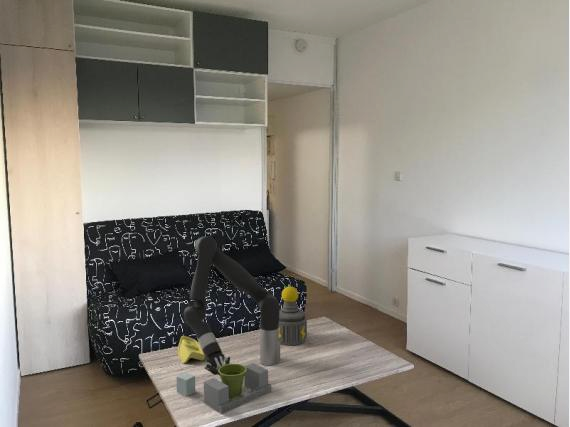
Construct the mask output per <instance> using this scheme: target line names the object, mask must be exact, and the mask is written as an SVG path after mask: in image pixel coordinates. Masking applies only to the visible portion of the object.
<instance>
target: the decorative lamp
mask: <svg viewBox="0 0 570 427" xmlns="http://www.w3.org/2000/svg"><path fill="white" fill-rule="evenodd" d="M281 298H282V300H283V301H284V302H283V305H282V308H280V316H279V342H280V345H282V344H283V345H284V346H297V345H296V344H298V345H301V344H303V343H305V342H306V340H307V336H308V330H307V329H308V321H307V318H306V316H305V311H303V310H301V309H299V308H298V304H297V300H298V298H299V292H298V290H297V288H296V287H294V286H285V288H284V289H283V290H282V292H281ZM300 343H301V344H300ZM283 345H282V346H283Z"/></svg>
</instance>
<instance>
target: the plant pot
mask: <svg viewBox="0 0 570 427" xmlns="http://www.w3.org/2000/svg"><path fill="white" fill-rule="evenodd" d="M245 366H246V365H243V364H239V363H229V364H227V365H225V364H224V365H223V366H221V367H220V368H219V369H218V372H219V373H220V376H219V377H221V378H220V380H221V381H220V382H222V383H224V384H226V385H228V386H229V400H230V399H232V398H234V397H237V396H239V395H241V394H242V391H243V385H244V384H243V383H244V376H245V372H246V370H247V368H246V367H245Z"/></svg>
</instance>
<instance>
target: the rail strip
mask: <svg viewBox="0 0 570 427" xmlns="http://www.w3.org/2000/svg"><path fill="white" fill-rule="evenodd" d="M271 392H272V384H270V383H268V384H266V385H263V386H261V387H257V388H255V389H253V390H251V389H249V390H248V391H246V392H244V393H241V395H239V396H237V397H234V398H232V399H229V401H226V402H224V403H222V404H219V405H218V406H219V412H218V413H219V414H221V415H223V414H225V413H227V412H230V411H232V410H234V409H236V408H239V407H241V406H243V405H245V404H247V403H250V402H252V401H254V400H256V399H258V398H261V397H263V396H265V395H267V394H269V393H271Z"/></svg>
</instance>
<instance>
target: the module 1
mask: <svg viewBox="0 0 570 427" xmlns="http://www.w3.org/2000/svg"><path fill="white" fill-rule="evenodd" d="M175 378H176V393H178V394H181V395H183V396H185V397H188V396H189V395H191V394H193V393H195V392H196V375H194V374H191V373H189V372H183V373H181V374H179V375H177V376H176V377H175Z"/></svg>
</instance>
